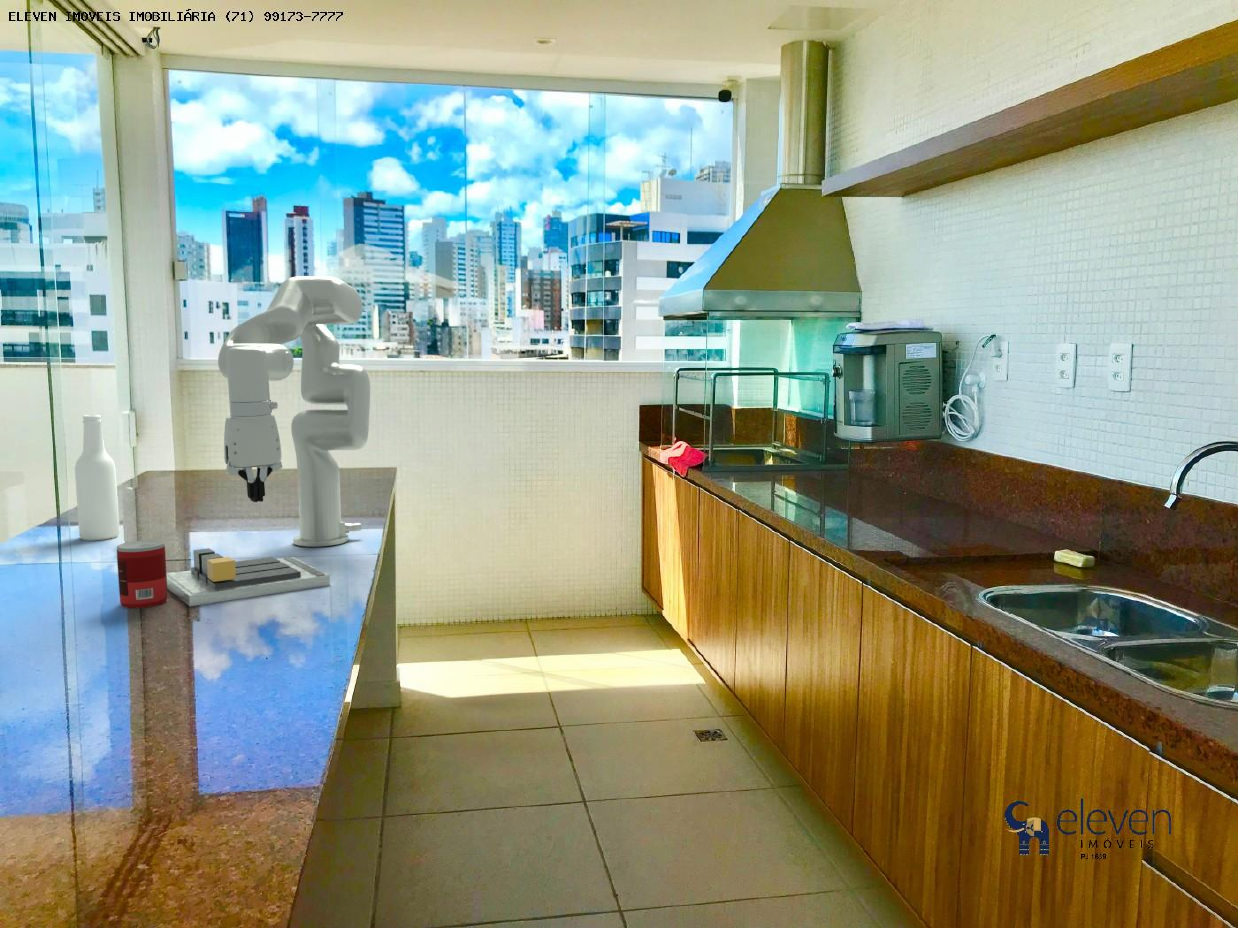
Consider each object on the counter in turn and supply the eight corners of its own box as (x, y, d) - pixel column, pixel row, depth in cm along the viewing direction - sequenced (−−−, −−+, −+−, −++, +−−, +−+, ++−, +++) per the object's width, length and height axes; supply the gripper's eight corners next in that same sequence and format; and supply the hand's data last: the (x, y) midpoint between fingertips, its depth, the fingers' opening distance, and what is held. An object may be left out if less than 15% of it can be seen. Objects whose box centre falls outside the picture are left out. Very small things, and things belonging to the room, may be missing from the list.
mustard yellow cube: (229, 574, 187) (228, 556, 187) (235, 578, 184) (235, 560, 184) (207, 577, 185) (206, 559, 185) (213, 581, 182) (212, 563, 181)
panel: (293, 566, 210) (292, 536, 209) (330, 585, 193) (328, 552, 192) (162, 584, 194) (160, 551, 193) (189, 606, 177) (187, 571, 177)
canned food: (177, 599, 182) (174, 541, 181) (143, 610, 175) (140, 549, 173) (144, 596, 185) (141, 538, 183) (110, 606, 177) (106, 546, 176)
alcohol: (71, 539, 239) (62, 416, 235) (102, 532, 247) (94, 413, 243) (97, 542, 236) (89, 417, 232) (128, 535, 244) (120, 414, 240)
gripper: (281, 405, 201) (287, 493, 204) (205, 410, 192) (212, 502, 195) (294, 408, 195) (300, 499, 198) (216, 414, 186) (223, 509, 189)
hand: (256, 500), depth 197 cm, fingers closed
